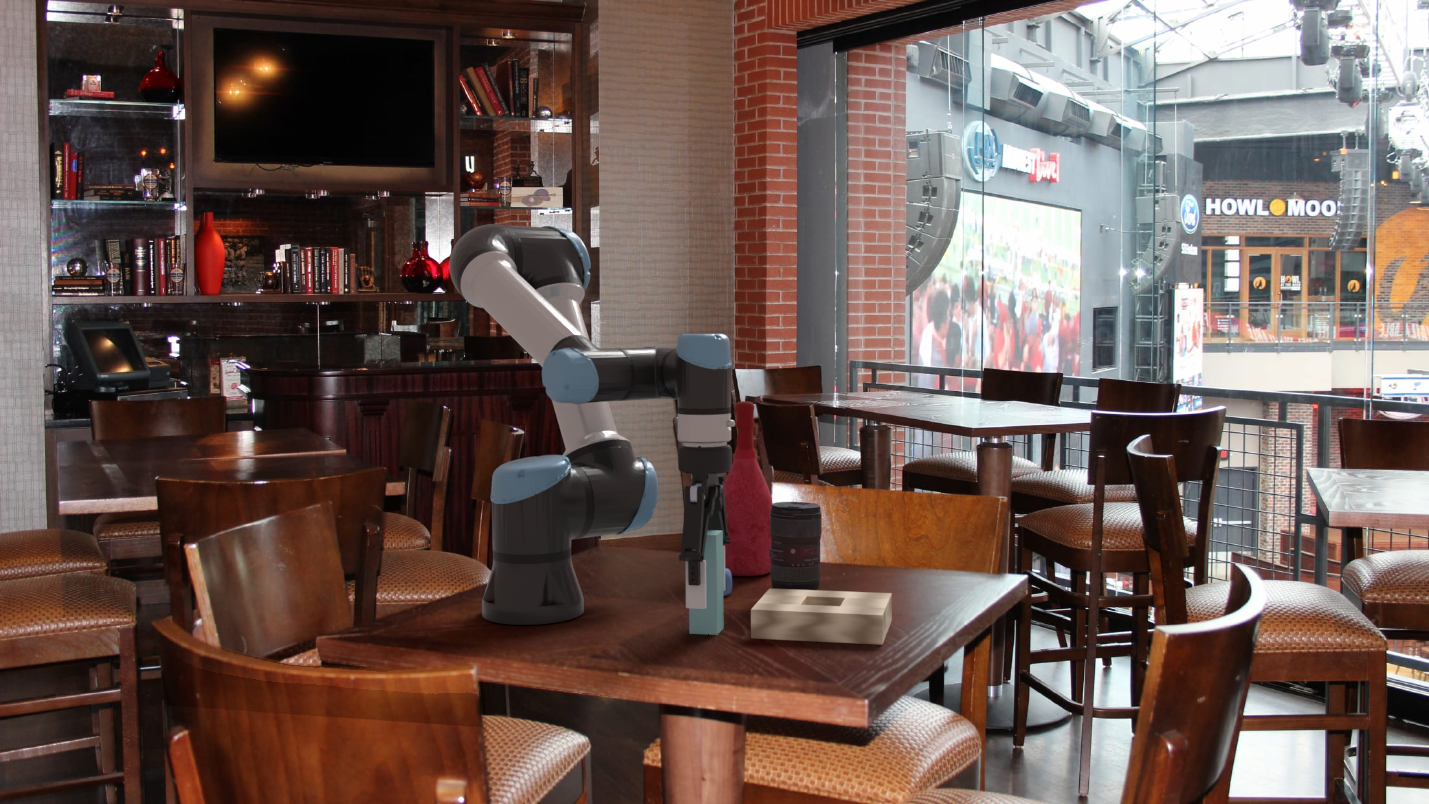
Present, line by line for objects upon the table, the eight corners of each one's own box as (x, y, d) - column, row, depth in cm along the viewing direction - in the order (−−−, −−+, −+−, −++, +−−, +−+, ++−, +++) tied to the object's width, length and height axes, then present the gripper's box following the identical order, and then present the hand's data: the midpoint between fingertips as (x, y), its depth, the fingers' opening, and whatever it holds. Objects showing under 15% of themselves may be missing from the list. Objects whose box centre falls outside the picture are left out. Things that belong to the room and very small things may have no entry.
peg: (689, 633, 172) (688, 534, 171) (696, 626, 176) (695, 529, 175) (717, 634, 171) (716, 535, 170) (723, 628, 175) (722, 530, 174)
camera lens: (818, 605, 189) (818, 508, 188) (766, 603, 190) (766, 507, 189) (824, 593, 197) (824, 501, 196) (774, 592, 198) (774, 500, 197)
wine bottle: (719, 567, 220) (717, 399, 218) (773, 567, 219) (772, 399, 218) (716, 578, 210) (715, 403, 208) (774, 578, 210) (773, 402, 208)
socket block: (751, 638, 169) (750, 609, 168) (769, 615, 182) (769, 588, 182) (882, 644, 165) (882, 615, 164) (891, 620, 178) (891, 593, 178)
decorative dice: (726, 591, 200) (726, 566, 200) (732, 596, 196) (732, 571, 196) (702, 592, 199) (702, 568, 199) (708, 597, 195) (708, 572, 195)
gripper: (711, 452, 159) (713, 619, 161) (747, 436, 182) (749, 582, 183) (656, 451, 161) (658, 616, 162) (698, 436, 184) (700, 581, 185)
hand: (706, 598), depth 173 cm, fingers open, 11 cm apart
